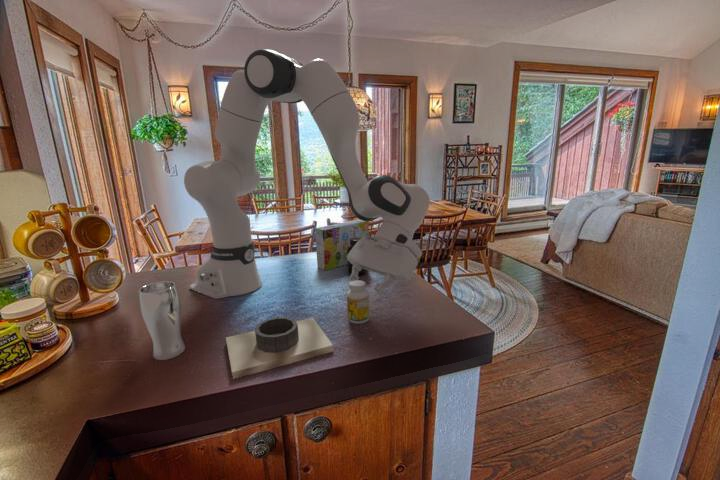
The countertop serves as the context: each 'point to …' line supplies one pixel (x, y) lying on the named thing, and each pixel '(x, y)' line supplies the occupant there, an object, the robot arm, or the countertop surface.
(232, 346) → the collar stand
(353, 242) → the supplement bottle
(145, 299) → the beer glass
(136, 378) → the countertop surface
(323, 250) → the snack box
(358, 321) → the supplement bottle
